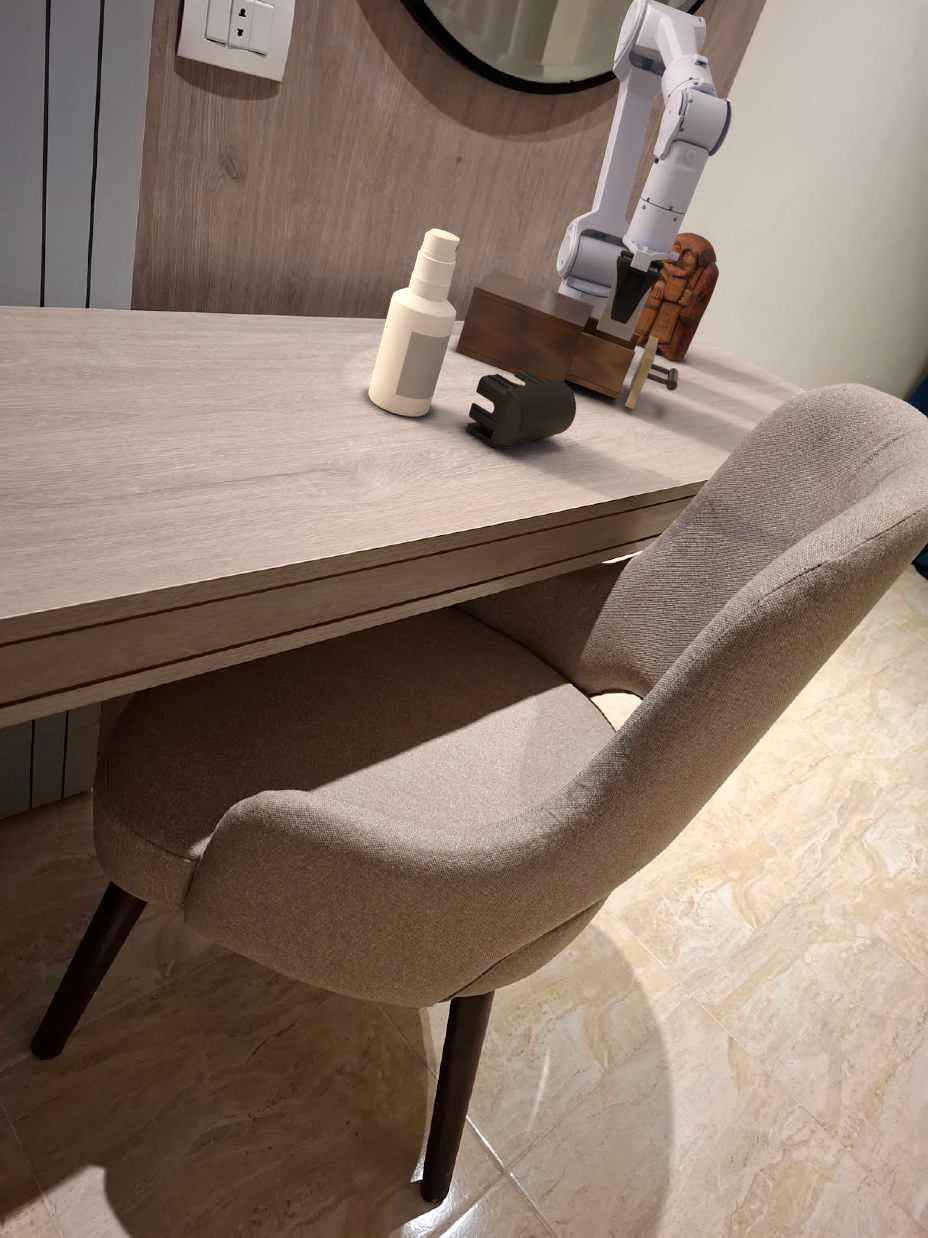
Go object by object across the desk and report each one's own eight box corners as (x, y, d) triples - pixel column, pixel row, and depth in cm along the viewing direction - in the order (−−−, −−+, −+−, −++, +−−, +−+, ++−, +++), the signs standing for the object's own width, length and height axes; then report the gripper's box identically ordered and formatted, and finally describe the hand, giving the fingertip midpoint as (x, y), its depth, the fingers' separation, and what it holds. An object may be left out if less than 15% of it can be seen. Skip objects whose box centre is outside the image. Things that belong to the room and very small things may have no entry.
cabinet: (572, 365, 128) (594, 305, 123) (560, 390, 117) (583, 326, 113) (476, 329, 128) (494, 268, 124) (455, 351, 118) (474, 286, 113)
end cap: (509, 461, 94) (530, 401, 90) (461, 429, 97) (479, 370, 94) (563, 449, 101) (585, 393, 98) (517, 419, 104) (536, 364, 101)
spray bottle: (420, 424, 95) (470, 251, 85) (359, 402, 95) (402, 227, 85) (434, 404, 101) (482, 240, 91) (377, 383, 101) (418, 217, 91)
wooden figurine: (614, 333, 149) (658, 220, 139) (633, 331, 154) (677, 222, 144) (673, 364, 144) (723, 249, 134) (691, 361, 149) (740, 250, 139)
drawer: (667, 395, 126) (687, 348, 123) (663, 420, 117) (685, 371, 113) (549, 350, 127) (565, 303, 123) (535, 372, 118) (553, 322, 114)
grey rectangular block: (599, 321, 117) (625, 251, 112) (631, 334, 117) (659, 264, 112) (596, 328, 114) (623, 256, 109) (629, 341, 114) (658, 269, 109)
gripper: (694, 224, 101) (646, 341, 108) (695, 209, 113) (652, 315, 120) (634, 203, 101) (590, 321, 108) (642, 190, 113) (602, 297, 120)
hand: (619, 317), depth 114 cm, fingers closed on grey rectangular block, 4 cm apart
